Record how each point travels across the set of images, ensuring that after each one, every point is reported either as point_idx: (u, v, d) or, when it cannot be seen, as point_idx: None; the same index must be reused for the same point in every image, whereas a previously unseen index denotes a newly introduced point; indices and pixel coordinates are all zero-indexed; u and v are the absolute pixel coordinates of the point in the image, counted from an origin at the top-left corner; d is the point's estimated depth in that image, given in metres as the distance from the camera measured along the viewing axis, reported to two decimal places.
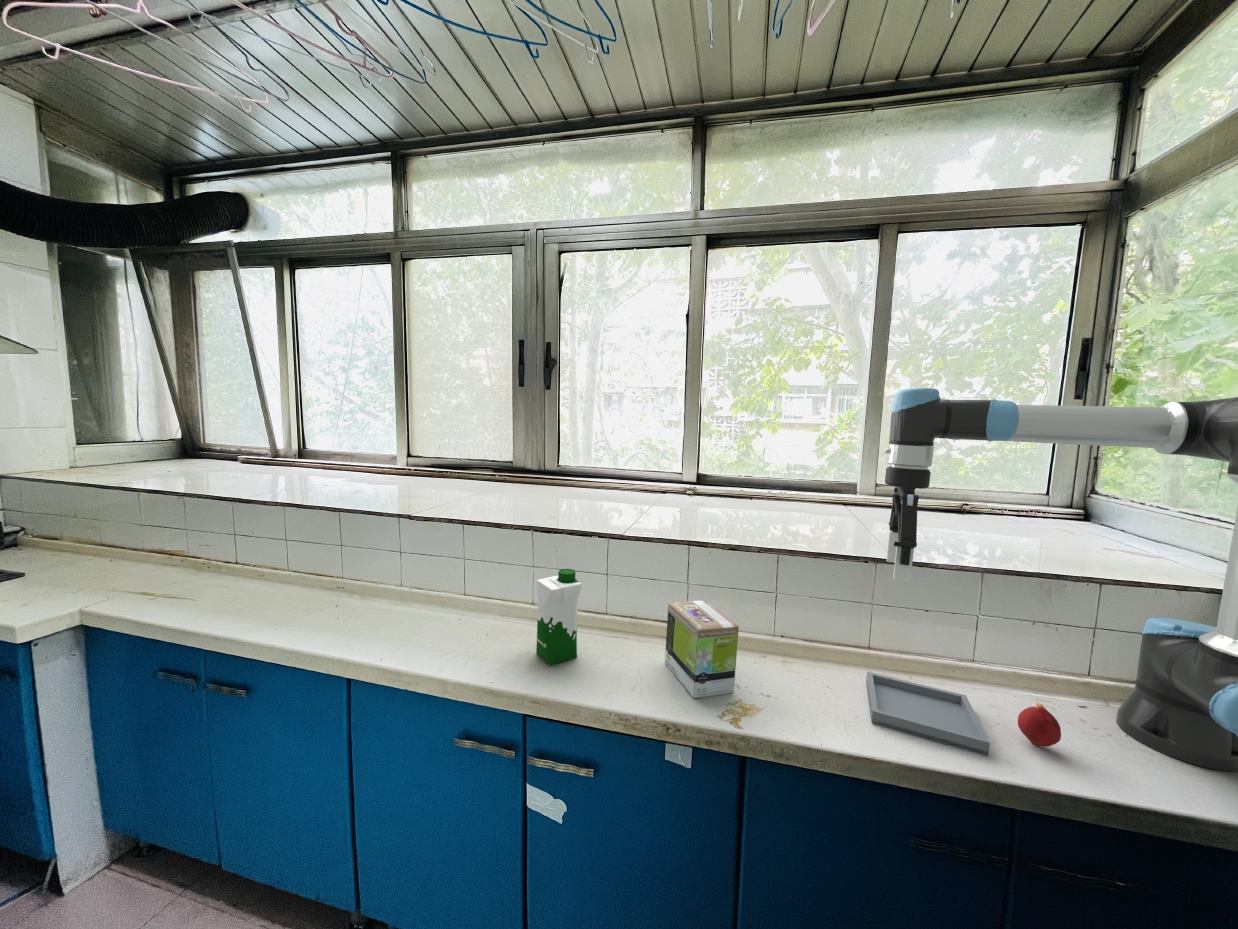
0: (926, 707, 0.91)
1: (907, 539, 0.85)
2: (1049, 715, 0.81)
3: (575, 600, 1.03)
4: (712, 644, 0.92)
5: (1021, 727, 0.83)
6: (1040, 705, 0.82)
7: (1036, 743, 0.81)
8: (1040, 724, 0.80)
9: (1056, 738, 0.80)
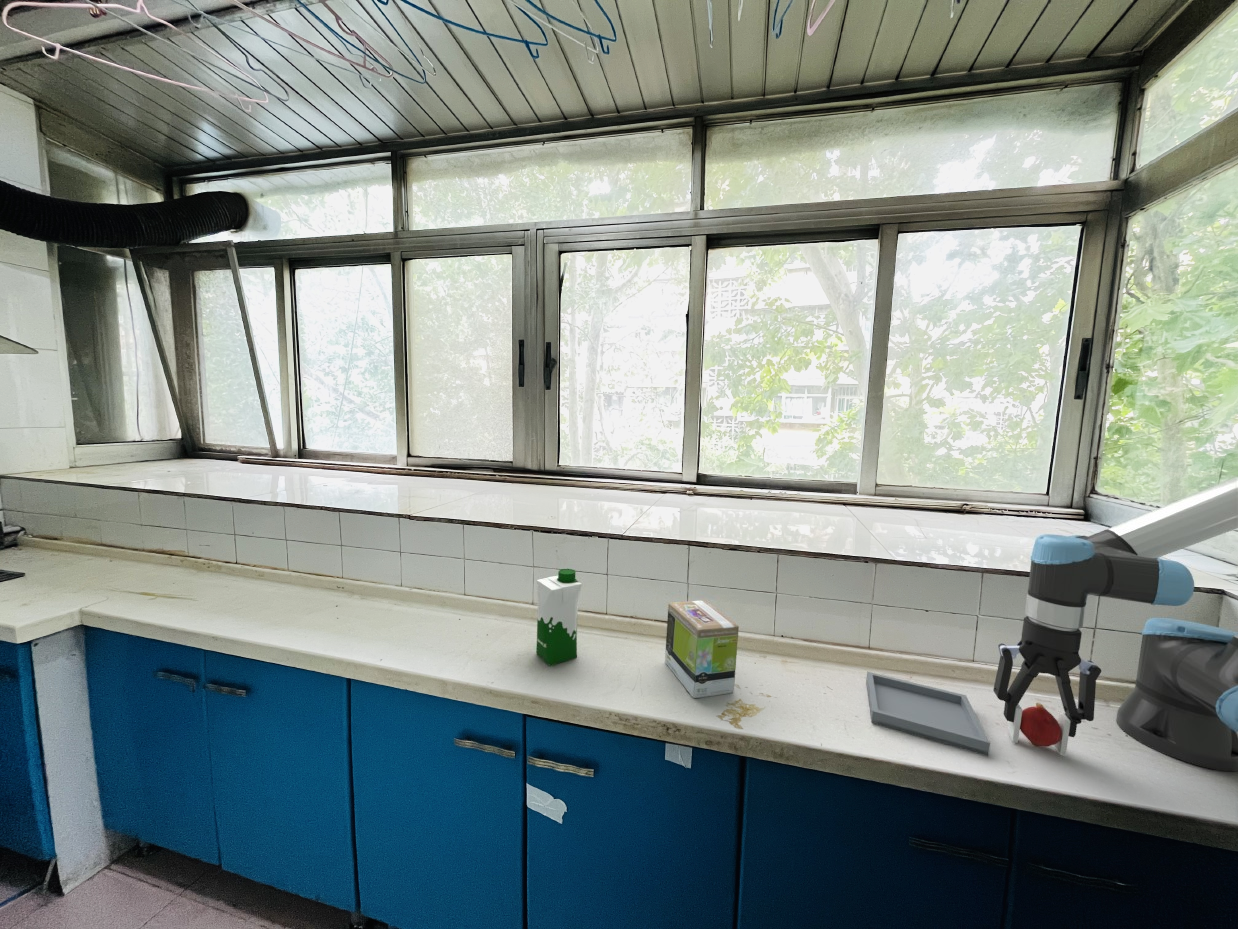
0: (926, 707, 0.91)
1: None
2: (1049, 715, 0.81)
3: (575, 600, 1.03)
4: (712, 644, 0.92)
5: (1021, 728, 0.83)
6: (1040, 705, 0.82)
7: (1036, 743, 0.81)
8: (1040, 724, 0.80)
9: (1056, 738, 0.80)
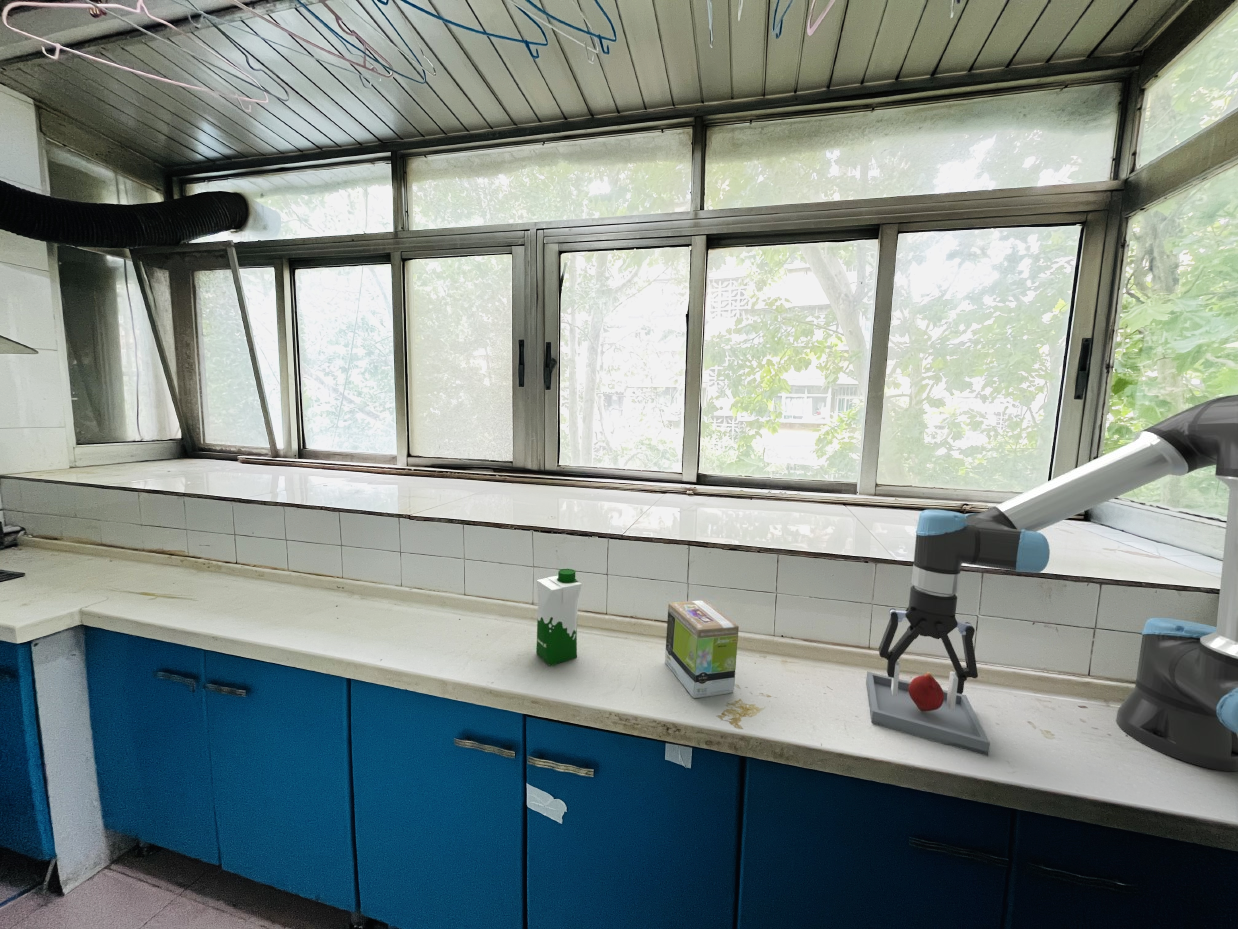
0: None
1: None
2: (935, 682, 0.88)
3: (575, 600, 1.03)
4: (712, 644, 0.92)
5: (910, 693, 0.90)
6: (929, 673, 0.89)
7: (921, 707, 0.89)
8: (926, 689, 0.88)
9: (938, 703, 0.87)
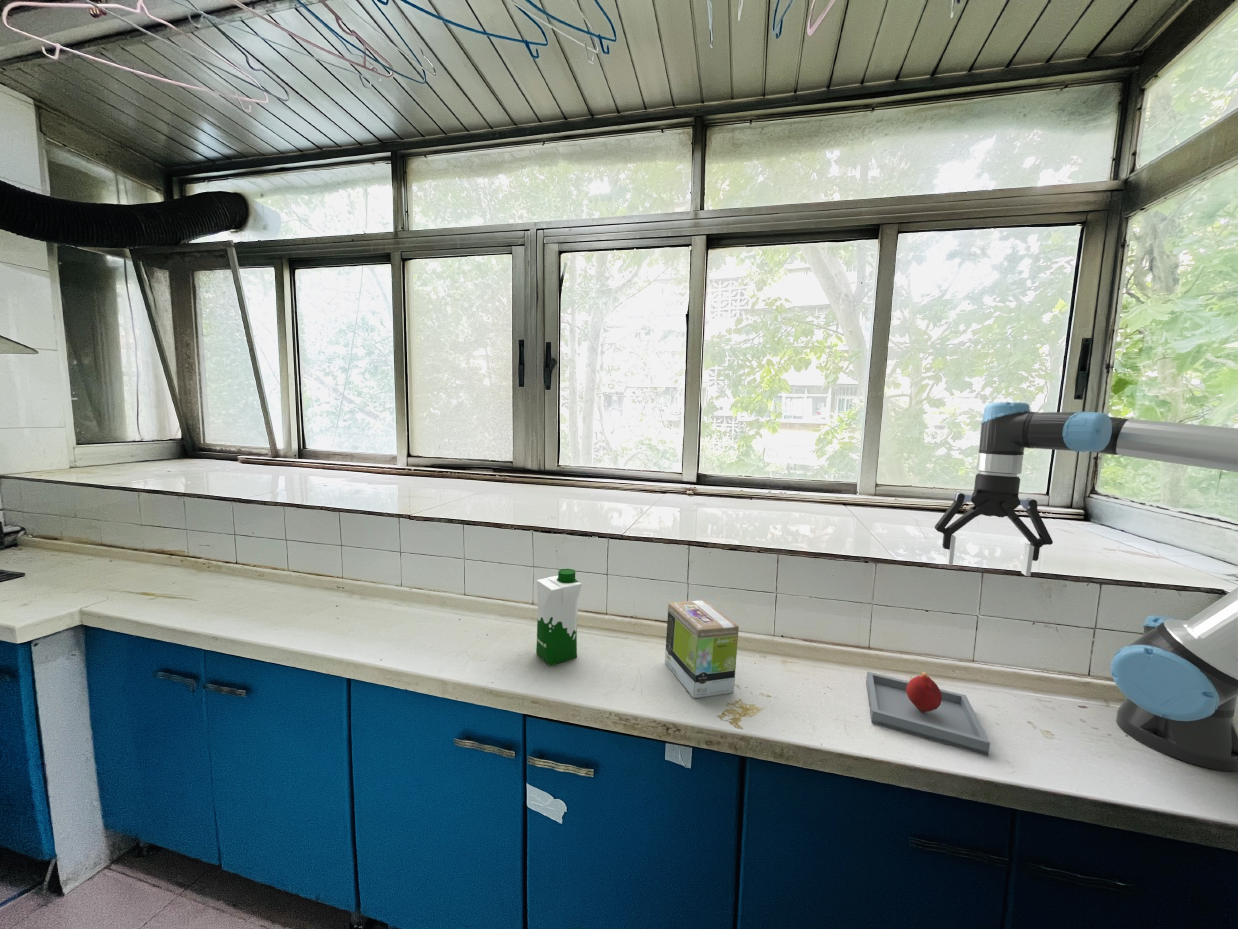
0: None
1: None
2: (931, 682, 0.88)
3: (575, 600, 1.03)
4: (712, 644, 0.92)
5: (908, 694, 0.90)
6: (924, 674, 0.89)
7: (920, 708, 0.89)
8: (922, 690, 0.88)
9: (935, 703, 0.87)
